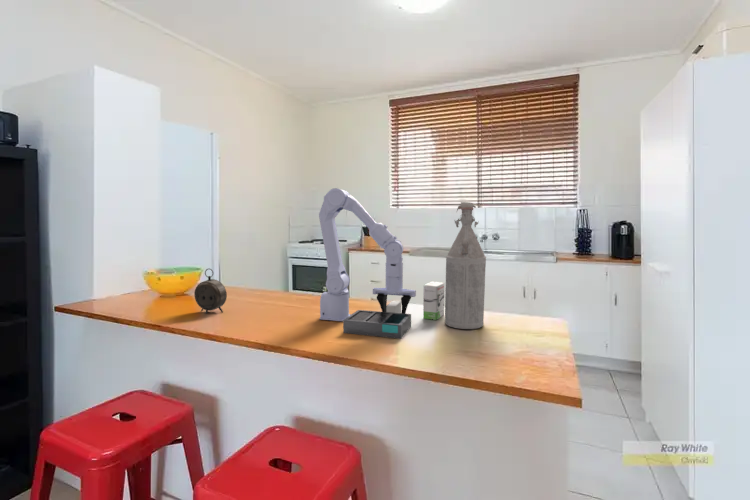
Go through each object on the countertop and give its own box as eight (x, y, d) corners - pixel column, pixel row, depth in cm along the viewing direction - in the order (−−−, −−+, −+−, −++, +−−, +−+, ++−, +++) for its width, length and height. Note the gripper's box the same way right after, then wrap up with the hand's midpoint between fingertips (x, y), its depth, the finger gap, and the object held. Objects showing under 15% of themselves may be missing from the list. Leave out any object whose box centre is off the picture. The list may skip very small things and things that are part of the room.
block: (386, 323, 129) (386, 305, 128) (392, 317, 136) (392, 300, 136) (395, 324, 128) (395, 306, 127) (401, 318, 135) (401, 301, 135)
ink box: (436, 320, 132) (436, 286, 131) (422, 318, 134) (422, 284, 133) (444, 314, 139) (445, 282, 138) (431, 313, 142) (431, 280, 141)
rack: (342, 333, 118) (342, 320, 118) (358, 321, 131) (358, 309, 130) (400, 339, 112) (401, 325, 112) (411, 326, 125) (411, 314, 125)
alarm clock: (228, 311, 144) (226, 268, 142) (219, 315, 139) (217, 270, 137) (202, 310, 147) (200, 267, 145) (192, 313, 141) (190, 269, 140)
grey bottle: (442, 330, 121) (444, 201, 117) (446, 315, 138) (448, 202, 134) (484, 333, 118) (488, 200, 114) (484, 318, 134) (487, 202, 131)
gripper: (369, 277, 129) (369, 317, 130) (412, 279, 124) (412, 321, 126) (376, 274, 136) (376, 312, 137) (417, 276, 131) (417, 315, 132)
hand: (393, 316), depth 132 cm, fingers open, 6 cm apart
